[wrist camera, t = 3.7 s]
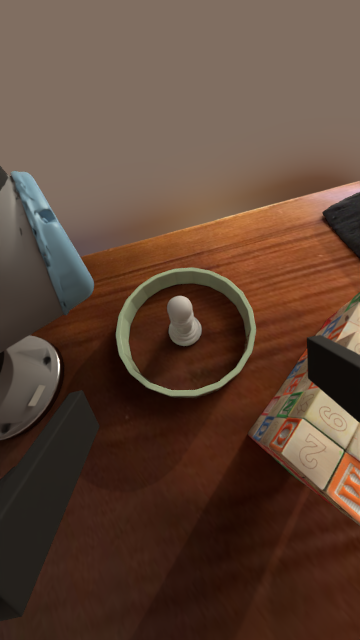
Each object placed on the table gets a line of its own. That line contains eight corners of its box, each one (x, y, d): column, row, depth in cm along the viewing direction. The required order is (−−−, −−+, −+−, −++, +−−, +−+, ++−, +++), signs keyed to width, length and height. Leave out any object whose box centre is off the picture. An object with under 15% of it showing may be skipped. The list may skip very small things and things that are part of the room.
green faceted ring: (103, 373, 30) (92, 368, 27) (151, 271, 38) (147, 259, 35) (235, 419, 25) (239, 420, 22) (259, 293, 33) (265, 280, 30)
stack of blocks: (326, 317, 30) (397, 262, 19) (370, 342, 28) (481, 295, 16) (246, 435, 24) (280, 454, 13) (292, 478, 22) (380, 543, 11)
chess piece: (166, 321, 33) (153, 291, 25) (196, 312, 33) (193, 280, 25) (173, 350, 30) (162, 328, 22) (205, 341, 30) (206, 315, 22)
